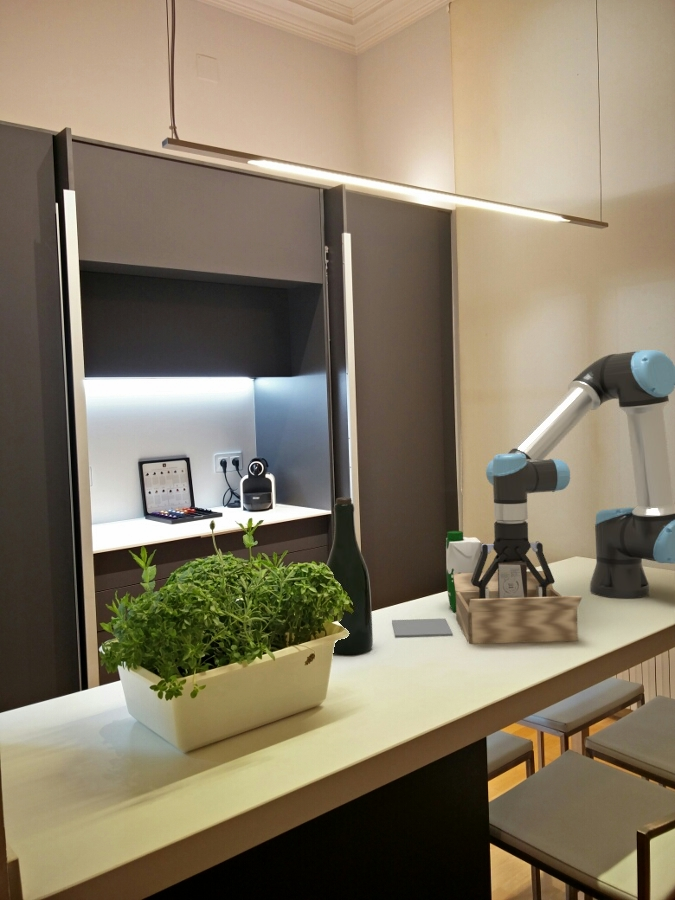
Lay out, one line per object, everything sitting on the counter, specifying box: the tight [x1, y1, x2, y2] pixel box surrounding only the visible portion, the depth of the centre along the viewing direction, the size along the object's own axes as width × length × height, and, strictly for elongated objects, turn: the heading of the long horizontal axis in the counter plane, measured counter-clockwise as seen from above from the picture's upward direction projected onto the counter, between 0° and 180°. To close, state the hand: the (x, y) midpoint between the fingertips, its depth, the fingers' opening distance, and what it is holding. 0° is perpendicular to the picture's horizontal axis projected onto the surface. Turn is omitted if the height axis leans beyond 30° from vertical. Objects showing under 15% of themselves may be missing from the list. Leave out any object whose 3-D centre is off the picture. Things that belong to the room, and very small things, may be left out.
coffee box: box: [497, 560, 528, 598], centre depth 173 cm, size 9×6×16 cm
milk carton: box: [445, 530, 484, 613], centre depth 194 cm, size 9×9×20 cm
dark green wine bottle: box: [326, 497, 374, 656], centre depth 163 cm, size 10×10×33 cm
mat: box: [391, 618, 454, 638], centre depth 177 cm, size 13×13×1 cm
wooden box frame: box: [453, 570, 583, 645], centre depth 174 cm, size 24×27×11 cm
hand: (513, 615), depth 174 cm, fingers open, 11 cm apart
